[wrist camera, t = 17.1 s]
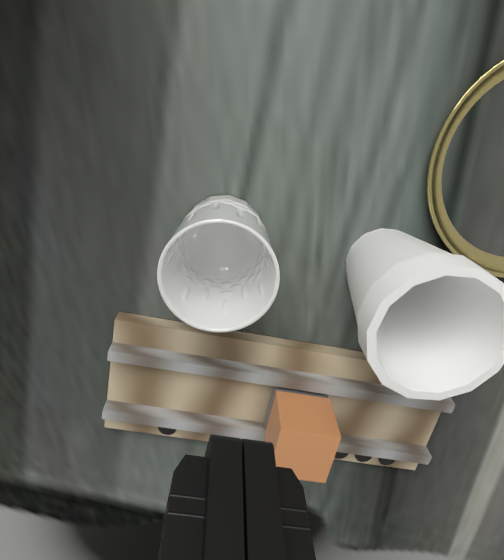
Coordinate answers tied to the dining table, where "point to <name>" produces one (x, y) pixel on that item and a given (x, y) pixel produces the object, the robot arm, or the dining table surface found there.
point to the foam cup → (425, 315)
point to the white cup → (219, 267)
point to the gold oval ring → (434, 192)
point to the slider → (302, 432)
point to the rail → (256, 389)
